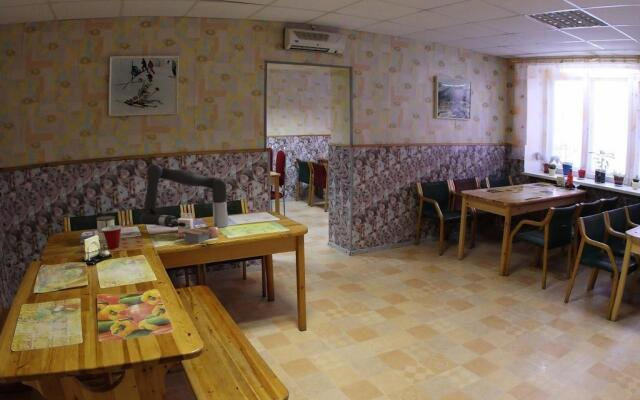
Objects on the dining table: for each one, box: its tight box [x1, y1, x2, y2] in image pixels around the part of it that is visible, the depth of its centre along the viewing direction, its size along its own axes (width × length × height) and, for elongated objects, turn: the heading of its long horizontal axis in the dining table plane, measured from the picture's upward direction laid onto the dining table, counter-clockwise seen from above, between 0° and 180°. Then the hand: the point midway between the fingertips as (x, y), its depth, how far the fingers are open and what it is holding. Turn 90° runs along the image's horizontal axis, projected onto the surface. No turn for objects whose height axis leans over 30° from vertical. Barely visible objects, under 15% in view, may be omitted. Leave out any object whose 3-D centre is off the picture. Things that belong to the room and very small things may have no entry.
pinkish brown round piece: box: [207, 226, 220, 239], centre depth 292 cm, size 6×6×6 cm
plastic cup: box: [102, 225, 122, 250], centre depth 267 cm, size 11×11×12 cm
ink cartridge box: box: [177, 212, 194, 238], centre depth 292 cm, size 9×5×15 cm, turn 83°
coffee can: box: [95, 215, 116, 243], centre depth 284 cm, size 10×10×14 cm
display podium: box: [183, 227, 211, 244], centre depth 284 cm, size 12×12×6 cm
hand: (188, 223), depth 291 cm, fingers closed on ink cartridge box, 6 cm apart
